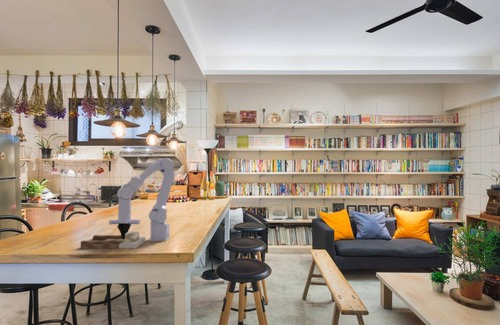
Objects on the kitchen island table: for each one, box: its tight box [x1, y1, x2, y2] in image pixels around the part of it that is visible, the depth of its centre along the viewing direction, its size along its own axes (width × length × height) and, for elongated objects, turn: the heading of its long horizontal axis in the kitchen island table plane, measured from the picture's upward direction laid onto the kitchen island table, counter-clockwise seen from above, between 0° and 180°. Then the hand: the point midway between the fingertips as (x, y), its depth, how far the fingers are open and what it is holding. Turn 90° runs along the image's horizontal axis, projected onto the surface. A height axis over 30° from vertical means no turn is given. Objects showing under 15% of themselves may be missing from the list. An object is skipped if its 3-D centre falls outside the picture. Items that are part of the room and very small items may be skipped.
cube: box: [125, 231, 140, 242], centre depth 141 cm, size 5×5×4 cm
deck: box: [80, 234, 146, 249], centre depth 141 cm, size 26×13×3 cm, turn 91°
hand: (124, 238), depth 141 cm, fingers closed
